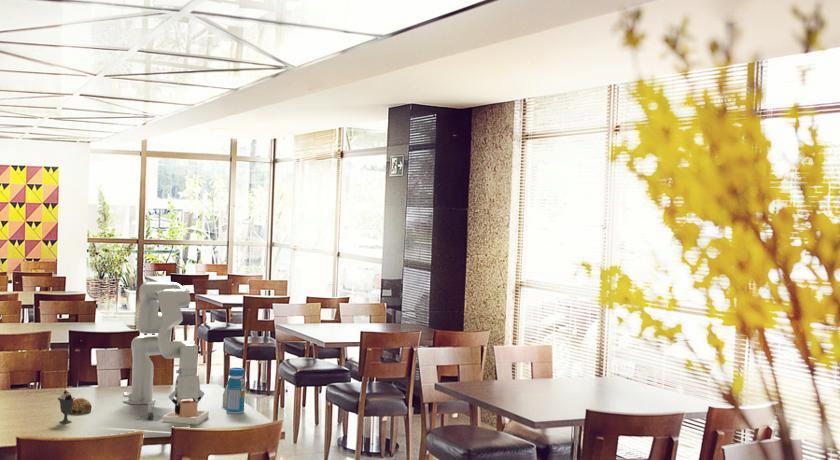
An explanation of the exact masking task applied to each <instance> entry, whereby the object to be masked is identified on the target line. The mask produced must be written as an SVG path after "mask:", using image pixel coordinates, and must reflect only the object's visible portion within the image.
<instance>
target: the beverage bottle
mask: <svg viewBox="0 0 840 460" xmlns="http://www.w3.org/2000/svg"><path fill="white" fill-rule="evenodd" d="M228 375H229V378H228V380H227V382H226V384H227V386H228V387H227V402H226V408H225V412H226V413H227V414H232V415H233V414H237V415H238V414H242V413H244V412H245V400H246V397H245V396H246V381H245V378H244V376H245V368H244V367H243V368H242V367H231V368H229V373H228Z"/></svg>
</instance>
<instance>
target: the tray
mask: <svg viewBox="0 0 840 460" xmlns="http://www.w3.org/2000/svg"><path fill="white" fill-rule="evenodd" d="M161 416H162V419H161V421H162V423H178V424H188V426H196V427H197V426H198V425H200V424H201V423H203V422H205V421H206V420H207V419H209V411H208V410H198V409H197V416H196V417H178V416H176V415H175V409H174V410H171V411H170V412H168V413H166V414H164V415H161Z"/></svg>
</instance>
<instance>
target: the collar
mask: <svg viewBox="0 0 840 460" xmlns="http://www.w3.org/2000/svg"><path fill="white" fill-rule="evenodd" d="M198 404H199V403H197V402H195V401H193V399H182V400H181V402H180V404H179V405H180V414H179V415H178V414H176V412H175V415H176V416H178V417H196V416H197V410H198Z"/></svg>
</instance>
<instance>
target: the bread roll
mask: <svg viewBox="0 0 840 460" xmlns="http://www.w3.org/2000/svg"><path fill="white" fill-rule="evenodd" d="M91 411H92V404H91V402H90V401H89V400H88V399H86V398H84V397H79V398H75V399H74V400H73V404H72V409H71V411H70V412H69V413H68V414H70V415H82V414H83V415H85V414H88V413H90V412H91Z"/></svg>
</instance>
